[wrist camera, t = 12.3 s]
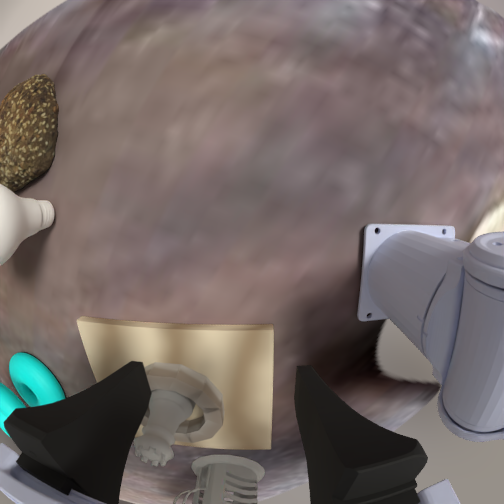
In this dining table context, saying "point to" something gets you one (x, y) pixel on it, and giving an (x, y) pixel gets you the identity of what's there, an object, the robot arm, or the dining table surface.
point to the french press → (225, 480)
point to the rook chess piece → (162, 426)
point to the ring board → (205, 355)
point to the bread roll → (27, 131)
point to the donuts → (28, 386)
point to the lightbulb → (20, 220)
